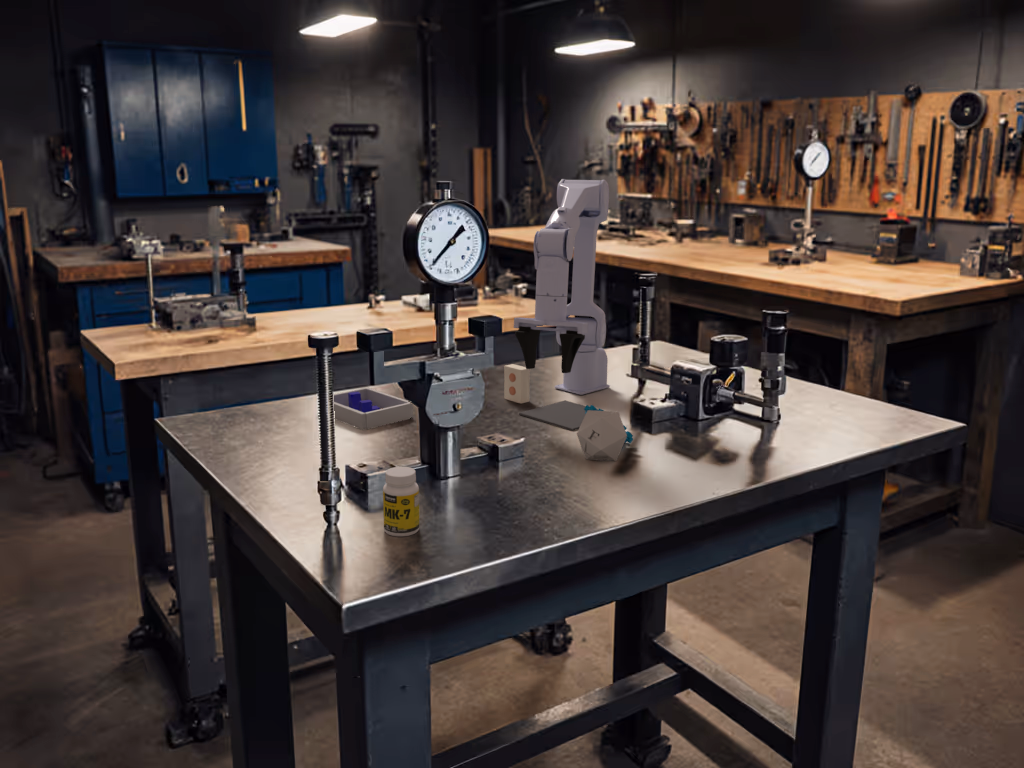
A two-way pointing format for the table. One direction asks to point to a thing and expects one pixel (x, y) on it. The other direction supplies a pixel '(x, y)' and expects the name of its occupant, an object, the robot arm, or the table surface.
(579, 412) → the mat
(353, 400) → the blue stepped block
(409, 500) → the supplement bottle
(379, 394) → the parts tray
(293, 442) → the table surface
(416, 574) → the table surface
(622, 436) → the die
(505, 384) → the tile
